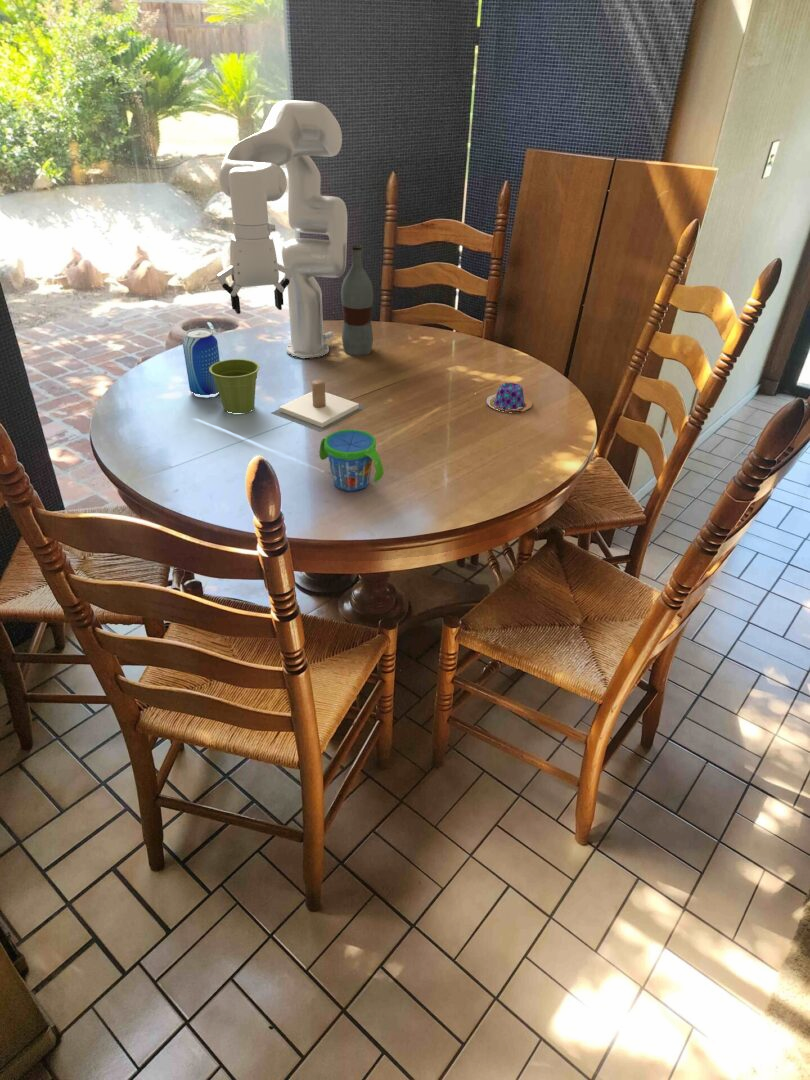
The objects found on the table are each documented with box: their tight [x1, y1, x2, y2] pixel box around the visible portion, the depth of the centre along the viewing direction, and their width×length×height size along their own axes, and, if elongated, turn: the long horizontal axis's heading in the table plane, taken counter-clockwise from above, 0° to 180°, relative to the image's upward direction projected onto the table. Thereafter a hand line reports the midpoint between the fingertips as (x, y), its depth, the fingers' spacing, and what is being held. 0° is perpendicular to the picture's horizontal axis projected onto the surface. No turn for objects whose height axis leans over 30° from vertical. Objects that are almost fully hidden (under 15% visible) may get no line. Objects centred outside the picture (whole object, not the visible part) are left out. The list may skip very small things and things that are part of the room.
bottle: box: [340, 244, 374, 357], centre depth 202 cm, size 9×9×30 cm
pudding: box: [486, 382, 525, 413], centre depth 182 cm, size 12×12×5 cm
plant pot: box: [209, 358, 261, 414], centre depth 172 cm, size 12×12×11 cm
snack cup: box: [318, 429, 384, 492], centre depth 146 cm, size 16×10×10 cm
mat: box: [271, 403, 368, 432], centre depth 176 cm, size 18×16×1 cm
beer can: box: [182, 327, 221, 395], centre depth 179 cm, size 8×8×16 cm
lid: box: [278, 379, 360, 427], centre depth 174 cm, size 14×14×7 cm
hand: (258, 310), depth 163 cm, fingers open, 9 cm apart
